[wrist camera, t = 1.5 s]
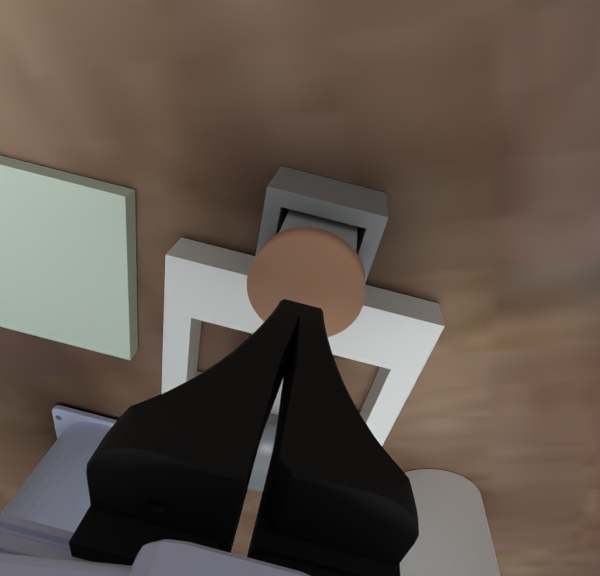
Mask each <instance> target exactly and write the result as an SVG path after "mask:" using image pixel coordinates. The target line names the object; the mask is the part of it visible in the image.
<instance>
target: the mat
mask: <svg viewBox="0 0 600 576" xmlns="http://www.w3.org/2000/svg"><path fill="white" fill-rule="evenodd" d="M0 327H4V328H8V329H12V330H16V331H19V332H23V333H27V334H31V335H35V336H39V337H42V338H46V339H50V340H54V341H58V342H62V343H66V344H69V345H73V346H77V347H81V348H85V349H89V350H93V351H96V352H100V353H104V354H108V355H112V356H116V357H119V358H123V359H127V360H131V359H132V357H133V356H134V355H135V353H136V352H137V351H138V325H137V266H136V206H135V190H134V189H130V188H126V187H122V186H118V185H114V184H110V183H106V182H102V181H99V180H95V179H91V178H87V177H83V176H79V175H75V174H71V173H67V172H63V171H60V170H56V169H52V168H48V167H44V166H40V165H36V164H32V163H28V162H24V161H20V160H17V159H13V158H9V157H5V156H1V155H0Z"/></svg>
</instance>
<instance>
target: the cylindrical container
mask: <svg viewBox="0 0 600 576" xmlns="http://www.w3.org/2000/svg"><path fill="white" fill-rule="evenodd" d="M405 474H406V476H407V477H408V478H409V480H410V483H411V487H412V491H413V495H414V499H415V504H416V508H417V514H418V524H419V536H418V538H417V540H416V542H415V544H414V545H413V546H412V548H411V549H410V550H409V552H408V553H407V554H406V556H405V557H404V558H403V559H402V561H401V562H400V576H501V575H500V571H499V567H498V563H497V559H496V555H495V551H494V546H493V542H492V538H491V534H490V530H489V526H488V522H487V518H486V514H485V509H484V505H483V501H482V497H481V494H480V492H479V490H478V488H477V487H476V486H475V485H474V484H473V483H472V482H471V481H469V480H468V479H467V478H465V477H463V476H461V475H458V474H455V473H452V472H449V471H444V470H437V469H418V470H413V471H408V472H405Z"/></svg>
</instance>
